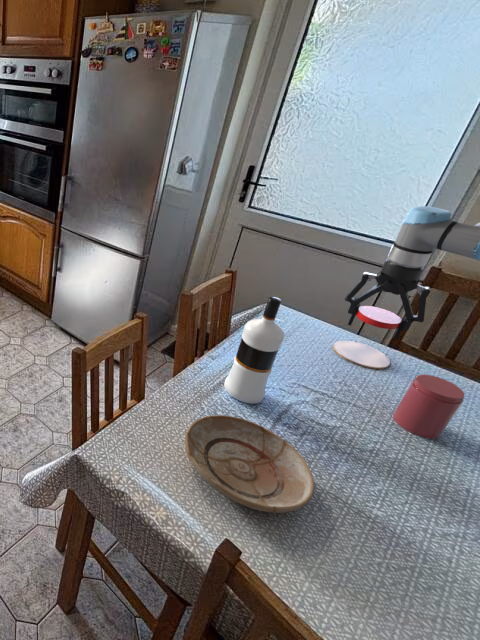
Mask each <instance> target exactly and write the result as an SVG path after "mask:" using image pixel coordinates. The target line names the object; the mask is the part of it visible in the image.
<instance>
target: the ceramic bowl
mask: <svg viewBox="0 0 480 640" xmlns="http://www.w3.org/2000/svg"><path fill="white" fill-rule="evenodd" d="M184 445H185V450H186V454H187V457H188V459H189V461H190V463H191V465H192V466H193V468H194V469H195V471H197V473H198V474H199V475H200V477H201V478H203V479H204V481H206V483H207V484H208V485H210V486H211V487H212V488H213V489H215V490H216V491H217V492H218V493H220V494H221V495H223V496H224V497H226V498H228V499H229V500H231V501H234V502H235V503H238V504H239V505H242V506H244V507H247V508H250V509H252V510H256V511H259V512H265V513H275V514H276V513H277V514H283V513H291V512H294V511H298V510H300V509H302V508H304V507H305V506H306V505H307V504H308V503H309V502H310V501H311V499H312V497H313V495H314V491H315V481H314V476H313V474H312V471H311V469H310V467H309V465H308V463H307V461H305V458H304V457H303V456H302V454H301V453H299V451H298V450H296V448H295V447H294V446H292V445H291V444H290V443H289V442H288V441H287V440H285V439H283V437H281V436H280V435H278V434H276V433H275V432H273V431H272V430H270V429H268V428H266V427H264V426H262V425H260V424H259V423H256V422H253V421H250V420H248V419H245V418H240V417H236V416H231V415H223V414H214V415H207V416H204V417H200V418H199V419H197V420H195V421H194V422H193V423H191V425H190V426H189V427H188V429H187V430H186V432H185V438H184Z"/></svg>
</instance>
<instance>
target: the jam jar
mask: <svg viewBox="0 0 480 640" xmlns="http://www.w3.org/2000/svg"><path fill="white" fill-rule="evenodd" d="M464 399H465V392H464V391H463V390H462V388H460V387H459V386H457V385H456V384H455V383H453V382H451V381H449V380H447V379H444V378H441V377H439V376H436V375H430V374H419V375H416V376H415V377H414V378H413V380H412V381H410V384H409V386H408V387H407V389H406V391H405V392H404V393H403V396H402V397H401V399H400V400H399V403H398V405H397V406H396V408H395V410H394V412H393V414H392V419H393V420H394V421H395V422H396V424H397V425H398V426H400V427H402V429H404V430H406V431H408V432H410V433H411V434H414V435H415V436H419V437H421V438H425V439H432V440H434V439H439V438H440V437H441V436H442V434H443V433H444V431H446V428H447V426H449V424H450V422H451V421H452V419H453V418H454V416H455V414H456V413H457V411H458V410H459V408H460V407H461V405H462V404H463V402H464Z"/></svg>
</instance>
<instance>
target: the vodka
mask: <svg viewBox="0 0 480 640" xmlns="http://www.w3.org/2000/svg"><path fill="white" fill-rule="evenodd" d="M281 304H282V300H281V298H278V297H277V296H276V297H275V296H269V297H268V300H267V302H266V305H265V309H264V311H263V313H262V317H261V318H253V319H250V320H248V321H246V323H245V324H244V327H243V332H242V333H241V339H240V342H239V345H238V349H237V351H236V355H235V356H234V358H233V364H232V366H231V369H230V371H229V374H228V375H227V376H226V377H225V379H224V383H223V386H224V389H225V392H226V393H227V394H228V395H230V396H231V397H232V398H233V399H235V400H237V401H239V402H242V403H246V404H254V405H255V404H259V403H261V402H262V401H263V400H264V398H265V396H266V388H267V383H268V379H269V377H270V375H271V373H273V369H272V368H273V367H274V363H275V360H276V358H277V355H278V352H279V350H280V349H281V347H282V344H283V342H284V339H285V332H284V330H283V329H282V327H281V326H279V325H278V324H277V323H276V322H275V320H276V318H277V315H278V312H279V309H280V306H281Z"/></svg>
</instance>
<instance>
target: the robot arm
mask: <svg viewBox="0 0 480 640" xmlns="http://www.w3.org/2000/svg"><path fill="white" fill-rule="evenodd" d="M451 219H452V212H451V211H449V210H447V209H443V208H440V207H435V206H425V205H419V206H415V207H412V208H411V209H410V210H409V212H408V213H407V215H406V217H405V219H404V220H403V221H402V224H401V227H400V228H399V231H398V233H397V236H396V238H395V240H394V242H393V244H392V246H391V248H390V250H389V252H388V254H387V256H386V257H387V258H386V259H385V261H384V262H383V265H382V266H381V269H380V271H379V272H378V273H376V274H375V273H371V272H369V271H364V272H363V273H362V277H361V278H360V280H359V281H358V282H357V283H356V284H355V285H354V286H353V288H351V290H350V291H348V293H347V294H346V295H345V297H344V301H345V302H348V303H350V306H349V308H348V309H347V313H348V314H349V315H351V316H350V317H349V320H348V323H347V325H348V326H350V327H351V326H352V324H353V321H354V320H355V318H356V317H357V316H356V313H357V311H358V309H359V307H361V303H362V302H365V301H366V300H368V299H369V298H371V297H372V296H374V295H376V294H377V293H378V294H379V293H381V292H385V293H390V294H393V295H395V296H400V300H401V303H402V306H403V311H404V315H405V316H404V315H403V316H402V318H401V320H402V321H401V323H400V325H399V327H398V328H397V329H395V331H394V333H393V336H392V340H394V341H397V340H398V338H399V336H400V334H401V332H402V331H404V332H405V331H406V332H407V331H408V330H409V329H410V327H411V325H412V323H413V322H417V323H423V322H424V321H425V315H426V314H425V313H426V312H425V311H426V305H427V298H428V297H429V295H430V293H431V290H432V288H431V287H430V286H423V285H420V284H419V283H418V281H419V279H420V277H421V275H422V274H423V272H424V267H426V265H427V264H428V262H429V260H430V258H431V256H432V254H433V252H434V250H435V249H436V250H439V251H442V252H443V251H444V252H447V253H451V254H453V255H454V254H455V255H458V256H462V257H466V258H470V259H472V260H476V261H479V262H480V222H478V223H476V224H473V225H472V224H469V223H462V222H459V221H455V220H451ZM372 280H375V281H376V284H375V285H374V286H372V287H370V288H369V289H368V290H366V291H364V292H363V293H361V294H360V295H358V296H356V295H357V294H358V293H359V292H360V291H361V289H362V288H363V287H364V286H366V284H367V282H370V281H372ZM414 290H417V294H418V295H419V301H418V310H417V314H416V315H415V314H414V311H413V308H412V304H411V301H410V297H409V293H410V292H411V291H414ZM355 296H356V297H355Z"/></svg>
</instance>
